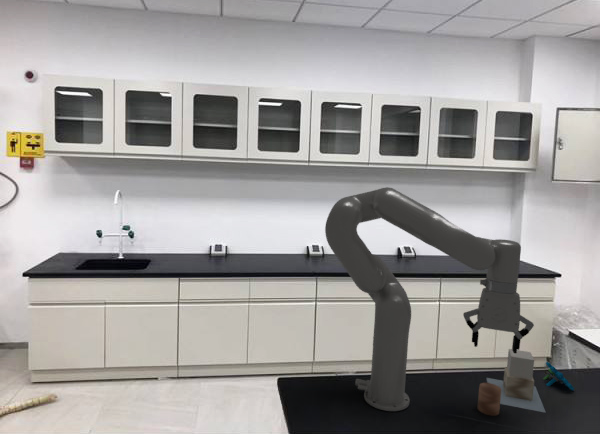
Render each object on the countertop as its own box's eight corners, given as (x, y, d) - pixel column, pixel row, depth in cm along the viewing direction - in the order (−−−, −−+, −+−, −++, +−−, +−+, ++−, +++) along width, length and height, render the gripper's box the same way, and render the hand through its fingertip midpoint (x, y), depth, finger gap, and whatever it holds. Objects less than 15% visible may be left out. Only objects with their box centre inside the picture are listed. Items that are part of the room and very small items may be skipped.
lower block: (505, 396, 130) (507, 376, 129) (503, 385, 137) (504, 366, 136) (532, 401, 128) (534, 381, 127) (528, 389, 134) (530, 371, 134)
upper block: (509, 376, 130) (511, 356, 129) (506, 367, 135) (508, 348, 135) (532, 380, 128) (534, 360, 127) (528, 371, 133) (530, 352, 133)
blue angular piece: (581, 392, 132) (556, 365, 133) (565, 404, 132) (541, 378, 134) (566, 380, 143) (543, 355, 144) (551, 391, 143) (528, 367, 145)
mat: (490, 403, 126) (490, 401, 126) (486, 379, 141) (486, 377, 141) (545, 414, 122) (545, 412, 122) (535, 387, 137) (535, 386, 137)
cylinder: (477, 414, 120) (480, 390, 119) (476, 404, 125) (478, 381, 125) (499, 419, 118) (502, 394, 118) (497, 408, 124) (500, 385, 123)
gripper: (466, 285, 117) (460, 347, 119) (540, 294, 112) (532, 359, 113) (466, 279, 124) (460, 338, 126) (534, 287, 119) (527, 348, 121)
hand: (494, 348), depth 120 cm, fingers open, 9 cm apart
